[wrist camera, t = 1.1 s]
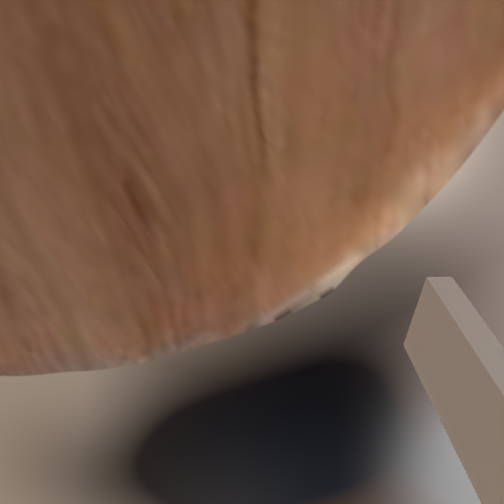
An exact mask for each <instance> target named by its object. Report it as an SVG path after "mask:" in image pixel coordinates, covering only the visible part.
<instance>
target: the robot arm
mask: <svg viewBox="0 0 504 504" xmlns="http://www.w3.org/2000/svg"><path fill="white" fill-rule="evenodd" d="M404 347H405V349H406V351H407V353H408V355H409V357H410V359H411V361H412V363H413V365H414V367H415V369H416V371H417V373H418V376H419V378H420V380H421V381H422V384H423V386H424V388H425V390H426V392H427V394H428V396H429V398H430V400H431V402H432V404H433V406H434V408H435V410H436V412H437V414H438V416H439V418H440V420H441V422H442V424H443V426H444V428H445V430H446V432H447V434H448V436H449V438H450V440H451V442H452V445H453V447H454V449H455V451H456V453H457V455H458V457H459V459H460V461H461V463H462V465H463V467H464V469H465V471H466V473H467V475H468V477H469V479H470V481H471V483H472V485H473V487H474V489H475V491H476V493H477V495H478V497H479V499H480V501H481V504H504V349H503V347H502V346H501V345H500V343H499V342H498V341H497V339H496V338H495V336H494V335H493V334H492V332H491V331H490V330H489V328H488V326H487V325H486V324H485V322H484V321H483V320H482V318H481V317H480V315H479V314H478V313H477V311H476V310H475V308H474V307H473V306H472V304H471V303H470V301H469V300H468V299H467V297H466V296H465V294H464V293H463V292H462V290H461V289H460V287H459V286H458V285H457V283H456V282H455V281H454V279H453V278H452V277H427V278H426V281H425V284H424V287H423V290H422V293H421V296H420V298H419V301H418V304H417V307H416V310H415V313H414V316H413V319H412V322H411V325H410V328H409V331H408V333H407V336H406V339H405V342H404Z"/></svg>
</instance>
